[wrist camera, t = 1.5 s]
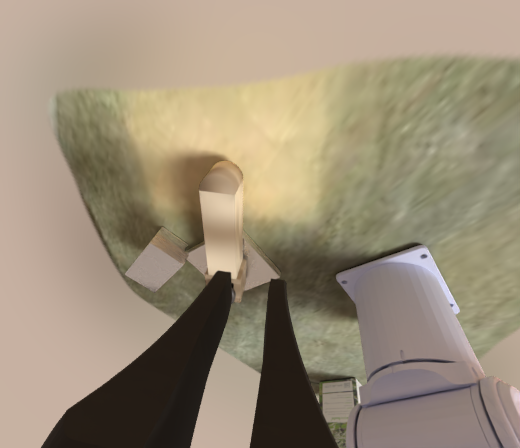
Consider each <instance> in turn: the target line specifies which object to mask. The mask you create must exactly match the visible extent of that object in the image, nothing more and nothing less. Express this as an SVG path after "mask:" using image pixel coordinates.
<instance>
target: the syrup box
mask: <svg viewBox="0 0 520 448" xmlns="http://www.w3.org/2000/svg"><path fill="white" fill-rule="evenodd" d="M360 386H362V385H361V384H360V383H359V382H358V380H357V379H356V378H352V379H343V380H333V381H323V382H320V383H319V405H320V408H321V410H322V412H323V415H324V417H325V419H326V422H327V424H328V426H329V428H330V430H331V432H332V435H333V437H334V439H335V441H336V443H337V445H338V447H339V448H346V428H347V421H348V417H349V414H350V412H351V410H352V409H353V407H354V406H356V405H357V404H360V403H361V402H360V394H359V387H360Z"/></svg>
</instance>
